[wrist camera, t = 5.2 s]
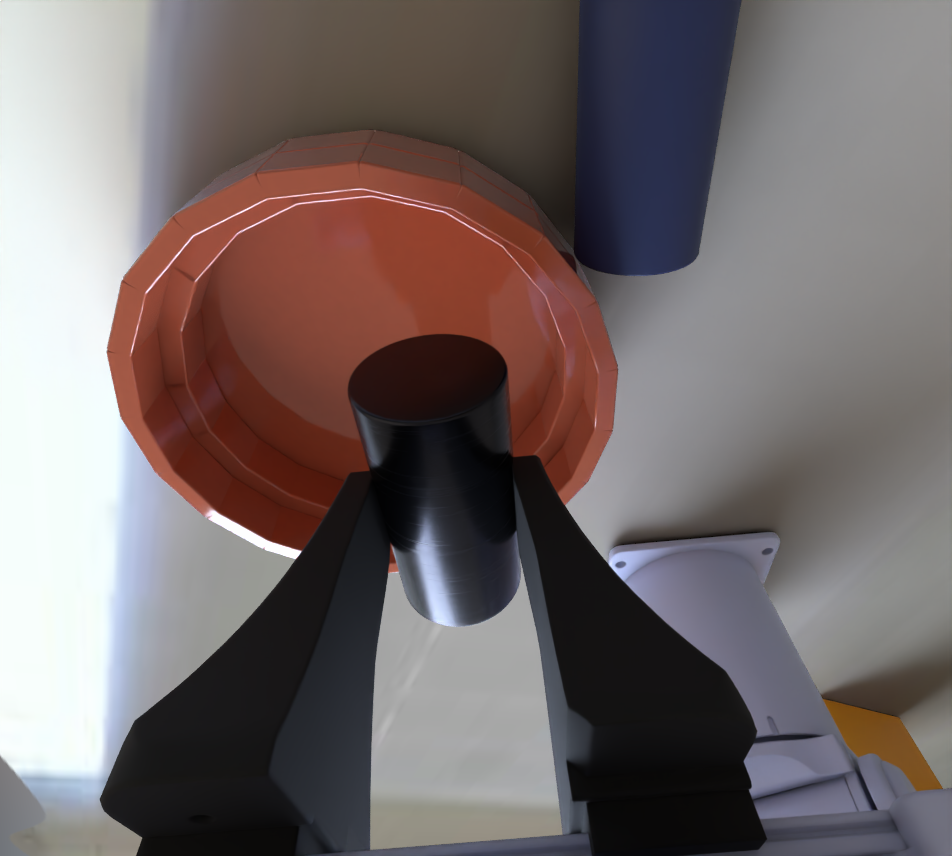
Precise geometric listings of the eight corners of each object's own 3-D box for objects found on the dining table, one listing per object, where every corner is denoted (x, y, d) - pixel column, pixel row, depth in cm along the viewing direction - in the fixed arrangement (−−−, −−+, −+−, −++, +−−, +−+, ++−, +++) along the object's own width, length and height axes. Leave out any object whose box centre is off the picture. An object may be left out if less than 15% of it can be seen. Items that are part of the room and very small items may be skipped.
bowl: (582, 479, 24) (602, 554, 21) (255, 509, 24) (227, 588, 21) (599, 99, 15) (639, 130, 12) (79, 156, 15) (-17, 201, 12)
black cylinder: (513, 523, 17) (528, 620, 15) (406, 535, 17) (401, 634, 15) (499, 325, 13) (516, 412, 10) (355, 340, 13) (335, 432, 10)
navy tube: (720, 267, 14) (591, 283, 14) (671, 223, 17) (561, 237, 17) (793, -103, 10) (607, -82, 10) (711, -84, 13) (565, -68, 13)
